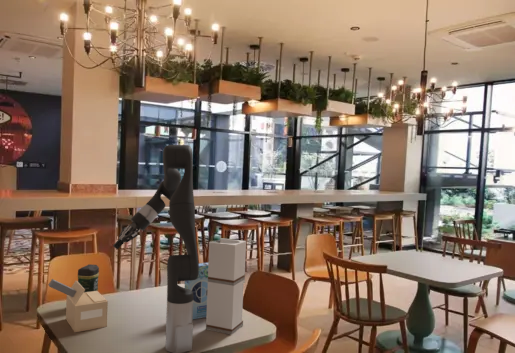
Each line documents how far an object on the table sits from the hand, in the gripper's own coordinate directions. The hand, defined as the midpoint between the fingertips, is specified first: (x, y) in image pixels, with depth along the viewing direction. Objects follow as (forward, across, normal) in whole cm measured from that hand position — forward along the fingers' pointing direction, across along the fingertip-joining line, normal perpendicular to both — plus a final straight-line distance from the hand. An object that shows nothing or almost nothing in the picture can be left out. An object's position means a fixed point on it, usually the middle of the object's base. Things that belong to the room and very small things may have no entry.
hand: (115, 247), depth 174 cm
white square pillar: (-4, +32, +46) cm, 56 cm away
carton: (+28, 0, +13) cm, 31 cm away
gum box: (-4, +16, +46) cm, 49 cm away
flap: (+22, 0, +2) cm, 22 cm away
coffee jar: (+25, -19, +17) cm, 36 cm away
